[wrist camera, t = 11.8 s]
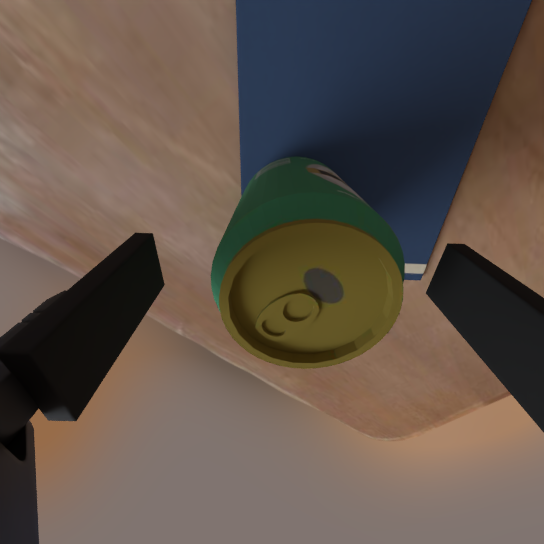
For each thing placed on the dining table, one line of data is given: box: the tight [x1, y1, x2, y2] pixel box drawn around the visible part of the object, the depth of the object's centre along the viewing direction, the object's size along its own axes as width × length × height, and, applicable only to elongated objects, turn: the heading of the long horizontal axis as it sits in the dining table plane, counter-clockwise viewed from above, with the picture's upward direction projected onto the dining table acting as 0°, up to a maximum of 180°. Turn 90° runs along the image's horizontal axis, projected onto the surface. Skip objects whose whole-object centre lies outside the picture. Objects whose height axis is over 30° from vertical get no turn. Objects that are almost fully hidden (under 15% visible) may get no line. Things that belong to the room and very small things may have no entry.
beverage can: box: [211, 157, 405, 369], centre depth 15 cm, size 8×8×12 cm
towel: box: [236, 0, 532, 280], centre depth 18 cm, size 20×16×1 cm
